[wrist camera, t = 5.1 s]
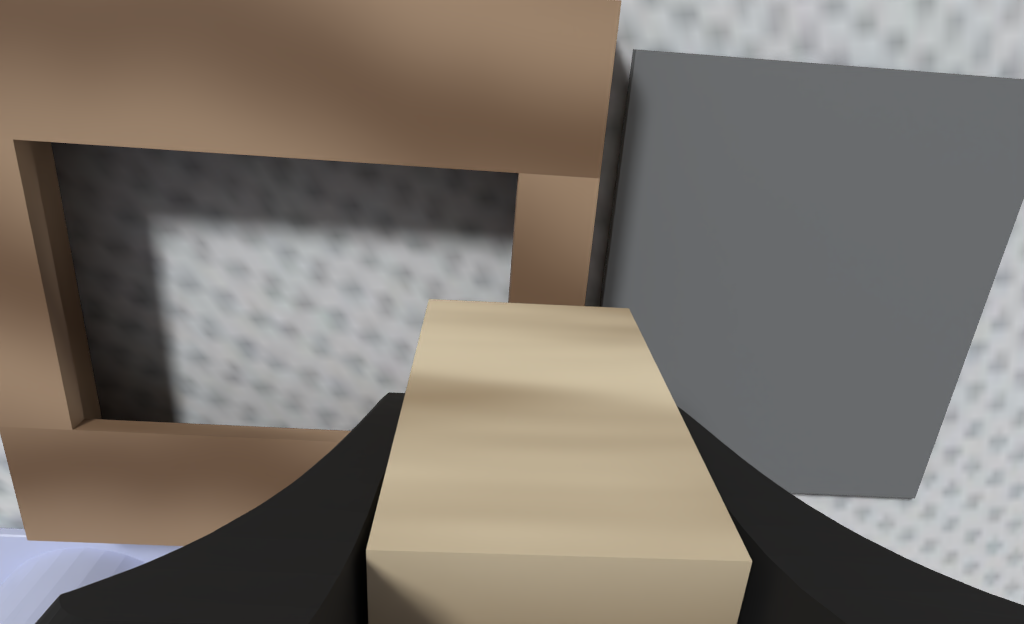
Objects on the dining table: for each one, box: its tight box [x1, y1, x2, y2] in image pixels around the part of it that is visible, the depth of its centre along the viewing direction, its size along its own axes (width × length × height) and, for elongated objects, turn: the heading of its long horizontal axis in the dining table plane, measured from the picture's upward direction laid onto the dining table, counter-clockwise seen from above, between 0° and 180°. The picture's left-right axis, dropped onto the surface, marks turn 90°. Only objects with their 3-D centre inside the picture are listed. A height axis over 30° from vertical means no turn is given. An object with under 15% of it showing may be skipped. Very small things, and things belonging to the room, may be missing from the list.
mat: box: [600, 49, 1024, 498], centre depth 21 cm, size 14×12×1 cm
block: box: [366, 299, 752, 624], centre depth 11 cm, size 4×4×7 cm
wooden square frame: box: [0, 0, 621, 546], centre depth 19 cm, size 16×16×3 cm
